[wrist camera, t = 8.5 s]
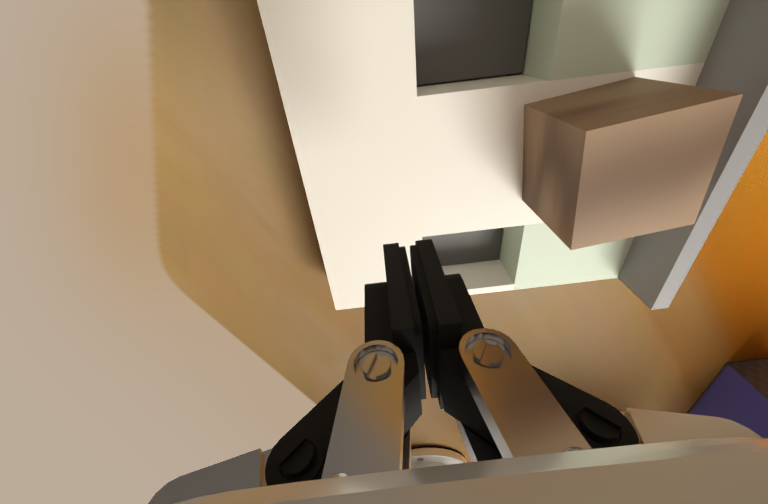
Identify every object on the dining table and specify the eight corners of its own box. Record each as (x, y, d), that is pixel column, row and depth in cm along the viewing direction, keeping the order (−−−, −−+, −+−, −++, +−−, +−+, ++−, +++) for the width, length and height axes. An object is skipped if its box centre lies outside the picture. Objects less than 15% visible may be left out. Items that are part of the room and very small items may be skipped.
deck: (338, 281, 24) (332, 345, 19) (267, -23, 14) (217, -52, 9) (604, 251, 24) (668, 307, 19) (719, -77, 14) (915, -137, 9)
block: (615, 178, 17) (694, 224, 13) (522, 199, 18) (570, 250, 14) (635, 76, 15) (743, 93, 10) (524, 104, 15) (586, 131, 11)
